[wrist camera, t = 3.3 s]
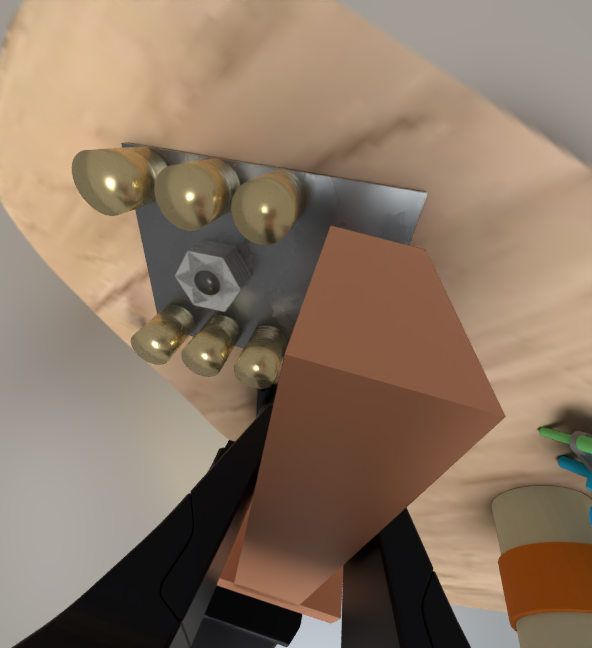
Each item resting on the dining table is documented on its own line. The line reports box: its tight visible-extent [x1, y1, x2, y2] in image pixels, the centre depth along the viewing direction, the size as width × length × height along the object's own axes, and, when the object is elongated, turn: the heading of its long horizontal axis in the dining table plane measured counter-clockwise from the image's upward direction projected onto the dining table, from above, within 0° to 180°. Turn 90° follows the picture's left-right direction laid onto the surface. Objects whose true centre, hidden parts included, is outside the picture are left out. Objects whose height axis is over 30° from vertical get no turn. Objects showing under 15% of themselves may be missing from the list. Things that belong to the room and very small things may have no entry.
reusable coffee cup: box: [491, 486, 592, 648], centre depth 23 cm, size 13×13×15 cm
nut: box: [175, 240, 251, 312], centre depth 19 cm, size 4×5×2 cm
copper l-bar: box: [217, 226, 506, 623], centre depth 9 cm, size 6×14×5 cm, turn 169°
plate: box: [72, 143, 428, 389], centre depth 19 cm, size 14×18×5 cm
